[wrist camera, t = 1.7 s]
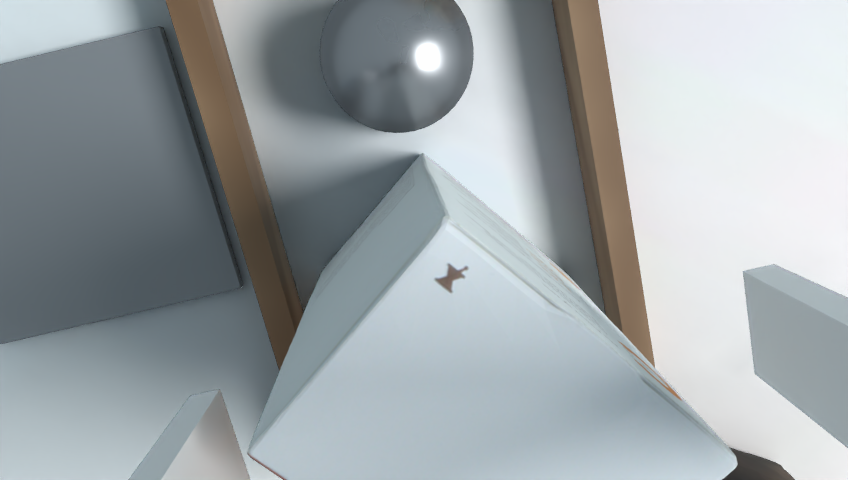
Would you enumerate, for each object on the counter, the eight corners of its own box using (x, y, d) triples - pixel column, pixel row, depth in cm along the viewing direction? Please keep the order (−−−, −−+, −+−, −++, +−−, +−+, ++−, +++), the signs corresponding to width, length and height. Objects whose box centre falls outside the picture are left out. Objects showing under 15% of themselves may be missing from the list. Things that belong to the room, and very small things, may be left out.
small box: (319, 271, 25) (232, 454, 12) (421, 148, 24) (447, 203, 11) (471, 389, 26) (540, 666, 13) (574, 278, 25) (753, 460, 12)
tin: (349, 142, 24) (341, 147, 21) (315, 7, 22) (302, -7, 20) (476, 112, 24) (487, 114, 21) (448, -25, 22) (455, -44, 19)
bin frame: (320, 454, 26) (313, 482, 24) (172, -37, 22) (149, -51, 20) (641, 381, 26) (660, 403, 24) (558, -130, 22) (573, -153, 20)
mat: (0, 341, 25) (-6, 345, 24) (-103, 91, 22) (-112, 91, 22) (243, 285, 25) (240, 288, 24) (163, 27, 22) (159, 26, 22)
